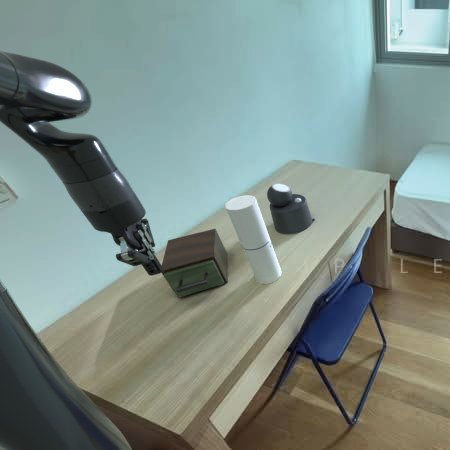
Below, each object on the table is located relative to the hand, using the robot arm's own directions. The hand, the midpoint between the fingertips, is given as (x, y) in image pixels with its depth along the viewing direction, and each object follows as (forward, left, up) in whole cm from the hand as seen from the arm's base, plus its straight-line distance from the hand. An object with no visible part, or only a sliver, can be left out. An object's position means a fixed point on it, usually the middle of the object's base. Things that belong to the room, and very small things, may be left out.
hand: (156, 272), depth 62 cm
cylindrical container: (+20, -10, -21) cm, 31 cm away
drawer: (+18, +8, -20) cm, 28 cm away
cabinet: (+22, +10, -21) cm, 32 cm away
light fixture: (+47, -12, -21) cm, 53 cm away
